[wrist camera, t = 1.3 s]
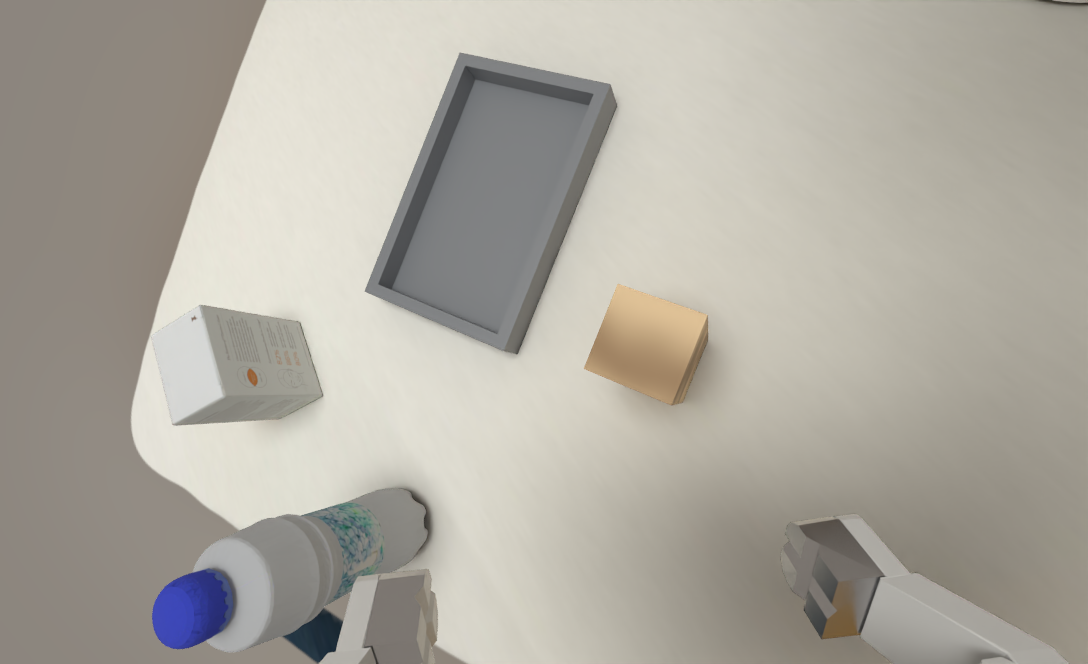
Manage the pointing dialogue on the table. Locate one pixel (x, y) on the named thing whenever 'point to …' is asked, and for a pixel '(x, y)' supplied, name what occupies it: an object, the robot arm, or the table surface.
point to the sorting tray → (492, 197)
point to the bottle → (287, 571)
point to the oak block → (649, 345)
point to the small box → (233, 367)
